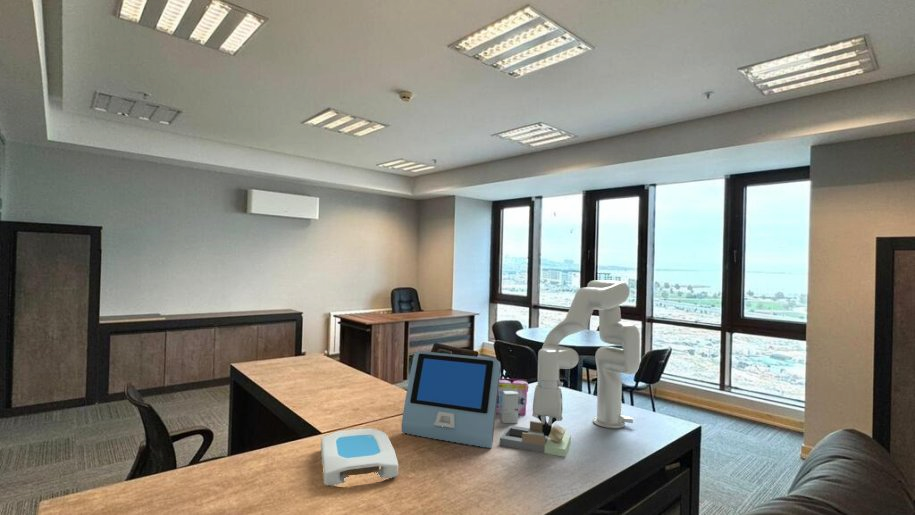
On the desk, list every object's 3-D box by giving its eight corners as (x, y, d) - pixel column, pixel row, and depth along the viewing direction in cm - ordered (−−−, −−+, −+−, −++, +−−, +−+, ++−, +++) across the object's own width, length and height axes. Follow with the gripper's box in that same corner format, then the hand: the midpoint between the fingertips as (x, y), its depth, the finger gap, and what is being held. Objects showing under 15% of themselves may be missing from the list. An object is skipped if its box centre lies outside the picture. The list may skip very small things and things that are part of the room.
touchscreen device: (398, 435, 162) (402, 354, 164) (420, 420, 180) (423, 347, 182) (489, 451, 150) (492, 363, 152) (503, 433, 168) (505, 355, 170)
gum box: (527, 409, 197) (528, 379, 197) (529, 415, 189) (529, 383, 189) (474, 406, 199) (475, 376, 199) (473, 412, 191) (474, 381, 191)
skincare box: (503, 423, 178) (504, 393, 178) (501, 419, 182) (501, 390, 182) (518, 423, 178) (519, 393, 179) (515, 419, 183) (516, 390, 183)
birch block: (561, 439, 156) (565, 429, 155) (558, 443, 152) (562, 433, 152) (551, 433, 158) (555, 423, 157) (548, 437, 154) (552, 427, 154)
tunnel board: (570, 441, 160) (570, 426, 161) (565, 456, 147) (565, 440, 148) (509, 431, 169) (510, 417, 169) (499, 445, 156) (500, 429, 156)
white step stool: (323, 491, 122) (324, 468, 122) (320, 450, 148) (321, 432, 148) (398, 481, 128) (399, 459, 129) (382, 444, 155) (383, 426, 155)
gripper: (570, 383, 158) (569, 435, 157) (529, 378, 163) (528, 428, 163) (567, 388, 151) (566, 442, 150) (525, 383, 156) (523, 435, 156)
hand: (546, 434), depth 157 cm, fingers closed
